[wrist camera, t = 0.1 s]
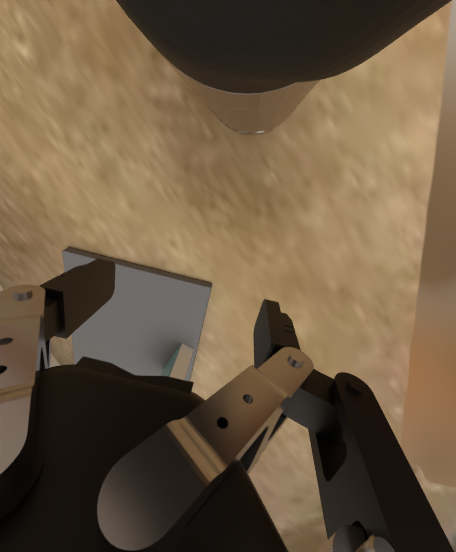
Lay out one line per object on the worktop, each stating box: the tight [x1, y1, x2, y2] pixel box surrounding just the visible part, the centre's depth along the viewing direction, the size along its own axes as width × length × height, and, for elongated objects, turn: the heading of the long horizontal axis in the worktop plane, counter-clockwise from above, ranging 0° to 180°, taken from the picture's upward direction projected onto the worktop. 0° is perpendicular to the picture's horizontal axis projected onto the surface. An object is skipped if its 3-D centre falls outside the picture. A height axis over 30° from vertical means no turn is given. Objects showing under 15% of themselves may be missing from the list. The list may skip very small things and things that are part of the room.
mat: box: [62, 248, 212, 381], centre depth 36 cm, size 22×20×1 cm
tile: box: [160, 343, 194, 380], centre depth 31 cm, size 2×7×14 cm, turn 149°
